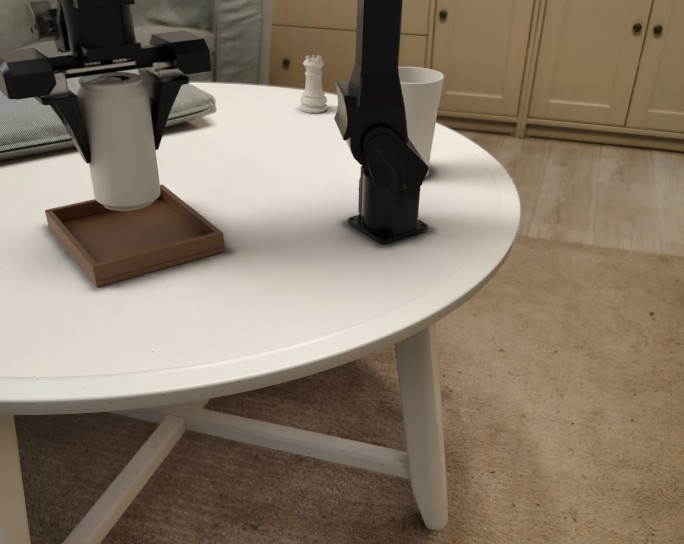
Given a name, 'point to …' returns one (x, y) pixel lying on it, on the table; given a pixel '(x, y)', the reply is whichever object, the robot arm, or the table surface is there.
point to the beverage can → (120, 140)
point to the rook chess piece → (313, 86)
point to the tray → (133, 237)
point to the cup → (421, 105)
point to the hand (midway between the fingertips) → (122, 155)
